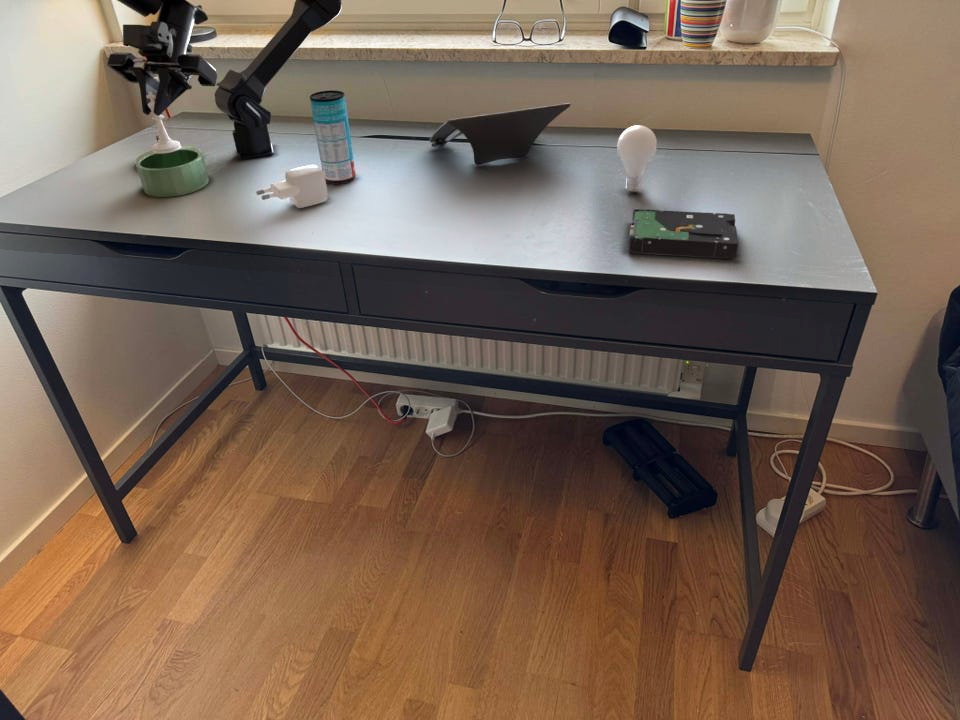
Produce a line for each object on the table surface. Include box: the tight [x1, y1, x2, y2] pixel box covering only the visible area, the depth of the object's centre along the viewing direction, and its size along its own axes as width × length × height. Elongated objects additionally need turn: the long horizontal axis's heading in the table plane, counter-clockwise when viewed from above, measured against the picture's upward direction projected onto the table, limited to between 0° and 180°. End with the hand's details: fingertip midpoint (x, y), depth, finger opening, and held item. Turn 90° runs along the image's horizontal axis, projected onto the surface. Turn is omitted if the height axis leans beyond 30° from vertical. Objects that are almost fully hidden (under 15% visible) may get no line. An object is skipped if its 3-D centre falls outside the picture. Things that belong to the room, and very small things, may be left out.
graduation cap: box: [429, 102, 571, 166], centre depth 137 cm, size 23×23×9 cm
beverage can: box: [309, 90, 357, 185], centre depth 128 cm, size 6×6×15 cm
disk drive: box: [627, 208, 739, 259], centre depth 104 cm, size 10×3×15 cm
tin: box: [135, 149, 210, 198], centre depth 132 cm, size 11×11×5 cm
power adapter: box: [256, 164, 329, 209], centre depth 121 cm, size 11×5×6 cm, turn 123°
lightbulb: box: [616, 124, 658, 193], centre depth 118 cm, size 6×6×11 cm
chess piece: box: [146, 91, 183, 154], centre depth 126 cm, size 5×5×10 cm
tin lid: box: [135, 134, 202, 163], centre depth 143 cm, size 12×12×5 cm
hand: (150, 114), depth 124 cm, fingers closed on chess piece
